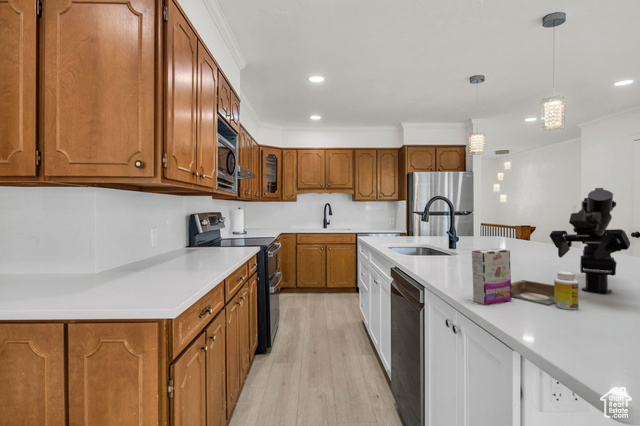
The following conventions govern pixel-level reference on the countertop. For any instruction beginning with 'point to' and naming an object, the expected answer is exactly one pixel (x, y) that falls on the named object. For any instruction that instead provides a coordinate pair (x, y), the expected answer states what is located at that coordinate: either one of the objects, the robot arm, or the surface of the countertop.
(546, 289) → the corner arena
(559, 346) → the countertop surface
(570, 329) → the countertop surface
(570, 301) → the supplement bottle
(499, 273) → the candy bar box
